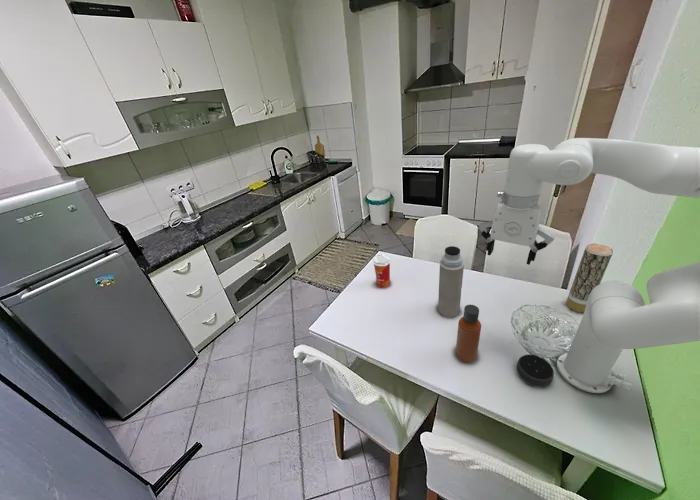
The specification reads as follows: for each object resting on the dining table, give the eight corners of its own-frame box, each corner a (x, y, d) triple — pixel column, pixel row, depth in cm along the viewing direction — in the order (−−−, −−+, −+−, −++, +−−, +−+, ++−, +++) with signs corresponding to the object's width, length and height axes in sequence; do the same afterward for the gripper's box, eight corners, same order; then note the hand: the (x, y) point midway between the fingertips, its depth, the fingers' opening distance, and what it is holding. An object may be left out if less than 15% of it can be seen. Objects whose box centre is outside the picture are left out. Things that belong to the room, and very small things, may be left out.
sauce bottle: (479, 351, 91) (486, 308, 81) (472, 366, 87) (479, 321, 77) (459, 343, 95) (464, 300, 85) (452, 356, 91) (456, 313, 81)
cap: (461, 319, 82) (461, 310, 81) (466, 311, 85) (467, 302, 83) (475, 324, 80) (476, 316, 78) (479, 316, 82) (481, 307, 80)
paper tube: (570, 312, 100) (591, 254, 87) (562, 299, 105) (582, 243, 92) (592, 313, 98) (618, 254, 85) (583, 300, 103) (606, 243, 91)
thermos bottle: (458, 303, 111) (463, 243, 97) (460, 317, 104) (467, 255, 90) (437, 302, 113) (439, 243, 98) (438, 316, 106) (441, 255, 92)
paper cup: (372, 281, 130) (370, 256, 123) (387, 277, 132) (385, 252, 124) (379, 291, 123) (376, 265, 116) (394, 286, 125) (393, 260, 118)
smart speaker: (548, 366, 84) (551, 357, 82) (553, 392, 77) (557, 384, 75) (515, 358, 87) (517, 350, 85) (517, 383, 80) (519, 374, 78)
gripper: (478, 199, 70) (471, 256, 79) (561, 209, 60) (543, 273, 69) (487, 189, 75) (480, 244, 83) (566, 197, 64) (548, 258, 73)
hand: (508, 257), depth 76 cm, fingers open, 9 cm apart
